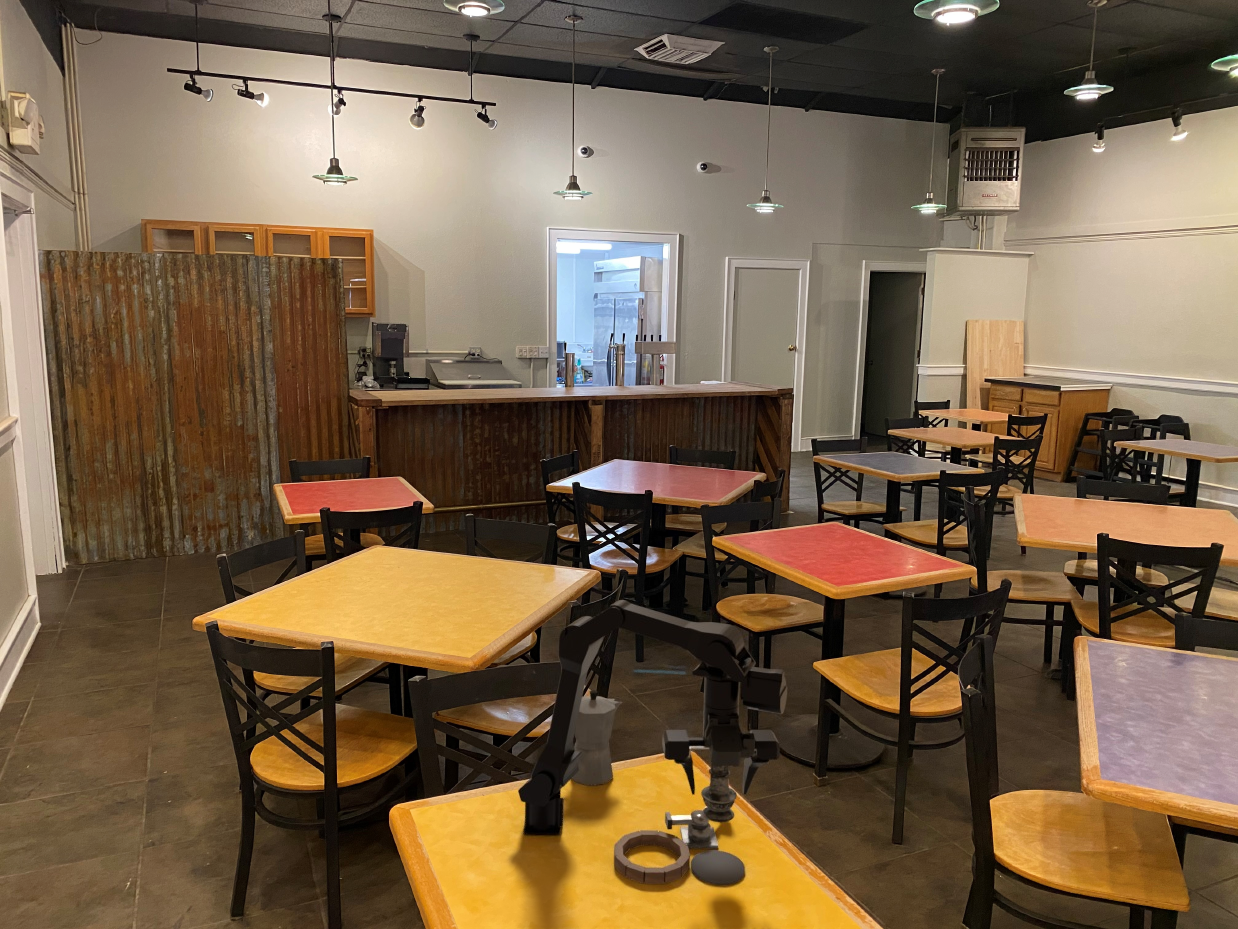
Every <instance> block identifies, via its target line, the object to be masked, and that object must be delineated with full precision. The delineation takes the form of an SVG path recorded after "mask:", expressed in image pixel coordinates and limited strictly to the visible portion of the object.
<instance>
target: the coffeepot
mask: <svg viewBox="0 0 1238 929" xmlns="http://www.w3.org/2000/svg"><path fill="white" fill-rule="evenodd" d="M622 703H623V702H622V701H621V700H620V699H618V698H605V697H603V696H599V695H598V690H596V689H595V690H594V689H591V690H589V696H582V700H581V705H580V709H579V714H578V719H577V724H576V729H575V733H574V737H575V743H574V748H575V751H580V752H582V754H581V757H580V760H579V764H578V767H579V771H578V772H577V773H576V774H575V775H574V776H573V777H572V778H571V780H572V781H573V782H574V783H577V784H579V785H585V786H600V785H603V784H606V783H608V782H610V781H611V780H612V779H613V778H614V774H613V766H612V765H611V764H612V758H611V749H610V744H609V741H610V739H611V737H612V731H613V725H614V720H615V715H616V714H615V713H616V711H617V709H619V706H620V705H621V704H622Z"/></svg>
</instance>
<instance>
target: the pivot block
mask: <svg viewBox="0 0 1238 929" xmlns="http://www.w3.org/2000/svg"><path fill="white" fill-rule="evenodd" d="M679 830H680V834H681V840H682V841H683V842H684V843H686V844H687V846H688V849H691V850H692V849H696V850H697V849H700V850H701V849H702V850H703V849H704V850H705V849H706V850H708V849H709V850H717V849H718V850H719V842H718V839H717V835H716V833H715V832H716V831H715V828H714V826H711V824H710V823H709V826H708V827H707V828H705V829H696V828H693V827H692V826H691V825H687V826H680V829H679Z"/></svg>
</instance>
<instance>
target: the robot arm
mask: <svg viewBox="0 0 1238 929" xmlns="http://www.w3.org/2000/svg"><path fill="white" fill-rule="evenodd" d="M616 629H621V630H623V631H627V632H630V633H633V634H637V635H640V636H643V637H647V638H649V639H653V640H656V641H659V642H662V643H665V644H669V645H672V646H675V647H678V648H681V649H682V650H685V651H686V652H688V653H689V654H690V655H691V656H692V657H694V659H696V660H698V661H699V662H700V663H699V664H698V665H697V666H696V667H695V668H694V669H693V670H692V671H691V674H692V675H693V676H696V677H701V678H702V677H703V678H704V686H703V720H702V722H703V723H702V726H703V727H702V737H689V736H688V732H687V729H665V731H664V732H663V733H662V742H661V744H662V745H661V746H662V750H663V755H664V759H665V760H668V761H674V763H675V764H677V765H681V767H682V768H683V770H684V772H685V775H686V778H687V781H688V784H689V785H688V786H689V788H690V792H691V795H692V796H693V795H695V794H696V784H695V776H694V773H695V772H694V762H693V756H692V754H691V753H692V751H709V754H710V763H712V764H713V765H714V766H717V767H721V766H728V767H729V766H730V767H731V766H732V767H735V768H737V767H740V766H741V765H742V764H743V774H742V794H743V795H747V793H748V792H749V791H748V790H749V789H750V786H751V784H752V782H753V779H754V777H755V774H756V773H757V771H758V769H759V768H760V767H761V766H762V765H764V764H769V763H770V761H771V760H772V761H775V760H779V759H780V752H781V748H780V743H779V741H778V738H777V737H776V734H775V733H774V732H773V731H772V729H751V730H750V731H749V732H745V731H742V730H741V727H740V724H739V723H740V719H739V718H740V715H739V714H740V713H739V712H740V711H739V710H740V701H741V702H742V706H745V707H746V709H749V710H754V711H761V712H767V713H773V714H779V715H783V714H784V712H785V708H786V705H787V704H786V703H787V699H788V698H787V697H788V686H787V679H786V677H785V670H784V669H781V668H780V669H779V668H774V669H771V668H765V667H764V668H763V667H756V666H755V665H756V663H757V662H756V660H755V659H754V658H753V656H752V654H751V652H750V651H749V650H748V649H747V648H748V647H747V646H746V645H745V641H744V638H743V637H744V636H743V634H742V633H741V632H740V630H739V628H737V627H736V626H734V625H732V624H727V623H722V622H712V621H709V622H708V621H707V622H706V621H705V622H695V621H691V620H687V619H683V618H680V617H677V616H673V615H670V614H666V613H663V612H660V611H656V610H653V609H650V608H647V607H644V606H639V605H638V604H634V603H631V602H630V601H628V600H624V599H620V600H617V601H615V602H613V603H611V605H609V606H607V608H606V609H604V610H602V611H601V612H599V613H597V614H596V615H594V616H593V617H592V616H589V615H585V616H581V617H580V618H578V619H576V620H575V621H573V622H572V623H570V624H569V625H567V626H566V627H564V628H563V629H561V631H560V633H559V635H558V645H557V646H558V647H557V648H558V649H557V650H558V652H557V653H558V654H557V656H558V660H559V664H560V666H561V667H560V668H561V672H560V676H559V681H558V687H557V692H556V696H555V700H554V706H553V711H552V716H551V721H550V726H549V731H548V736H547V740H546V743H545V745H544V746H543V749H542V750H541V752H540V754H539V756H538V758H537V759H536V761H535V764H534V767H533V768H532V771H531V774H530V779H529V780H527V781H526V782H525V783H524V784H523V785H522V786H521V787H520V788H518V790H517V792H518V795H519V799H520V801H521V802H522V803H524V825H523V830H522V831H523V832H522V833H523V835H527V836H530V835H534V836H536V835H537V836H538V835H539V836H548V835H549V836H555V835H556V836H560V833H561V827H563V825H564V809H565V808H564V805H565V802H564V800H565V798H564V797H561V793H562V792H561V790H562V788H564V787H565V786H566V785H567V784H568V783H569V782H571V780H572V779H571V778H572V777H573V776H574V775H575V774H576V773H577V772H578V771H579V767H578V764H579V760H580V757H581V754H582V752H580V751H575V748H574V746H575V744H574V737H575V729H576V724H577V719H578V714H579V709H580V705H581V700H582V697H583V694H584V690H585V685H586V680H587V674H588V671H589V668H590V667H591V665H592V663H593V661H594V660H595V657H596V656H597V655H598V653H599V649H600V647H601V645H602V642H603V640H604V637H605V636H607V635H608V634H610V633H611V632H613V631H615V630H616ZM740 683H741V684H740ZM743 759H744V762H743Z"/></svg>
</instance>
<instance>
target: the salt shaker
mask: <svg viewBox="0 0 1238 929" xmlns="http://www.w3.org/2000/svg"><path fill="white" fill-rule="evenodd" d="M710 763H711V762H710ZM708 774H709V775H710V779H709V780H710V781H709V782H710V783H709V785H708V786H705V787H704V788H702V790H701V792H700V795H701V796H702V799H703V802H704V805H705V807H706V806H707V807H706V808H705V807H704V808H705V809H704V808H703V809H704V810H703V809H702V810H703V812H702V813H703V816H704V817H705V818H706V819H708V820H709V822H714V823H727V822H730V821H732V820H733V819H734V818H735V812H734V810H732V809H731V808H733V805H734V804H735V802H736V799H737V796H738V795H737V792H736V791H735V790H734V789H733V788H731V787H730V784H729V785H728V779H729V776H730V775H731V771H730V769H729V766H721V767H717V766H714V765H713V764H712V763H711V765H710V768H709V770H708Z"/></svg>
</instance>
